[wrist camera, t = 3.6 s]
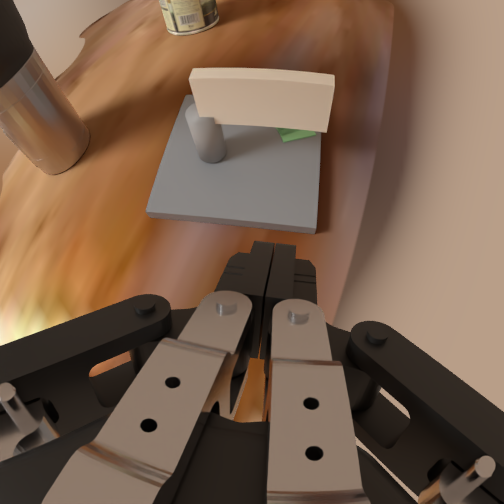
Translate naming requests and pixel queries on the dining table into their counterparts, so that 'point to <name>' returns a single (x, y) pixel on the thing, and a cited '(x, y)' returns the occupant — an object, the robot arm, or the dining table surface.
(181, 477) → the robot arm
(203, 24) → the coffee can
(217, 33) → the dining table surface
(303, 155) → the board
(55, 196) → the dining table surface
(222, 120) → the lever handle
